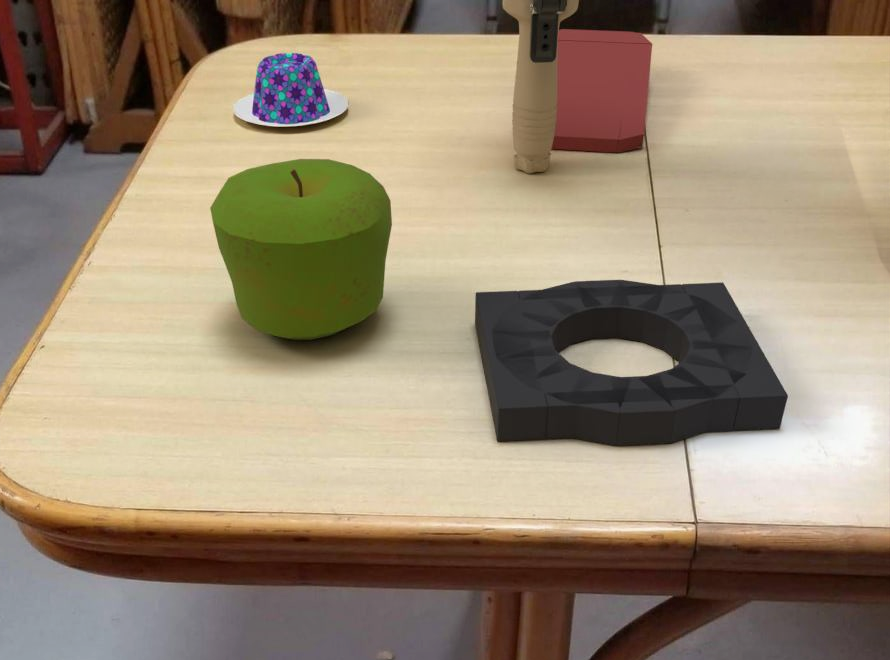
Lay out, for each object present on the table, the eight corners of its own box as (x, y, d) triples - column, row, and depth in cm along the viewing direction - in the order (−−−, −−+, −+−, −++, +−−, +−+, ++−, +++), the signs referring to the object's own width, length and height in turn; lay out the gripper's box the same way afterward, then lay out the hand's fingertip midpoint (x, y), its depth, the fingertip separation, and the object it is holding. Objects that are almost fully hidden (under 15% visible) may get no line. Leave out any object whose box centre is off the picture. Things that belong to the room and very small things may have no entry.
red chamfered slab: (637, 187, 105) (648, 67, 121) (643, 140, 101) (654, 22, 117) (514, 180, 107) (541, 62, 122) (516, 134, 103) (543, 18, 119)
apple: (334, 381, 72) (321, 222, 65) (192, 337, 77) (164, 184, 70) (424, 302, 81) (422, 153, 73) (291, 267, 85) (276, 123, 78)
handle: (503, 155, 102) (509, -17, 92) (570, 161, 101) (583, -13, 91) (492, 174, 99) (497, -3, 89) (561, 181, 98) (573, 2, 88)
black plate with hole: (713, 306, 80) (719, 275, 78) (785, 438, 67) (794, 404, 65) (473, 316, 79) (474, 284, 77) (499, 451, 66) (500, 418, 64)
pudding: (333, 136, 107) (329, 82, 103) (218, 130, 108) (210, 76, 105) (360, 96, 115) (357, 44, 112) (253, 91, 117) (247, 40, 114)
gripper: (616, -171, 77) (595, 76, 88) (582, -197, 87) (567, 26, 99) (512, -169, 76) (504, 79, 88) (491, -195, 87) (486, 28, 98)
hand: (537, 49), depth 93 cm, fingers closed on handle, 5 cm apart
